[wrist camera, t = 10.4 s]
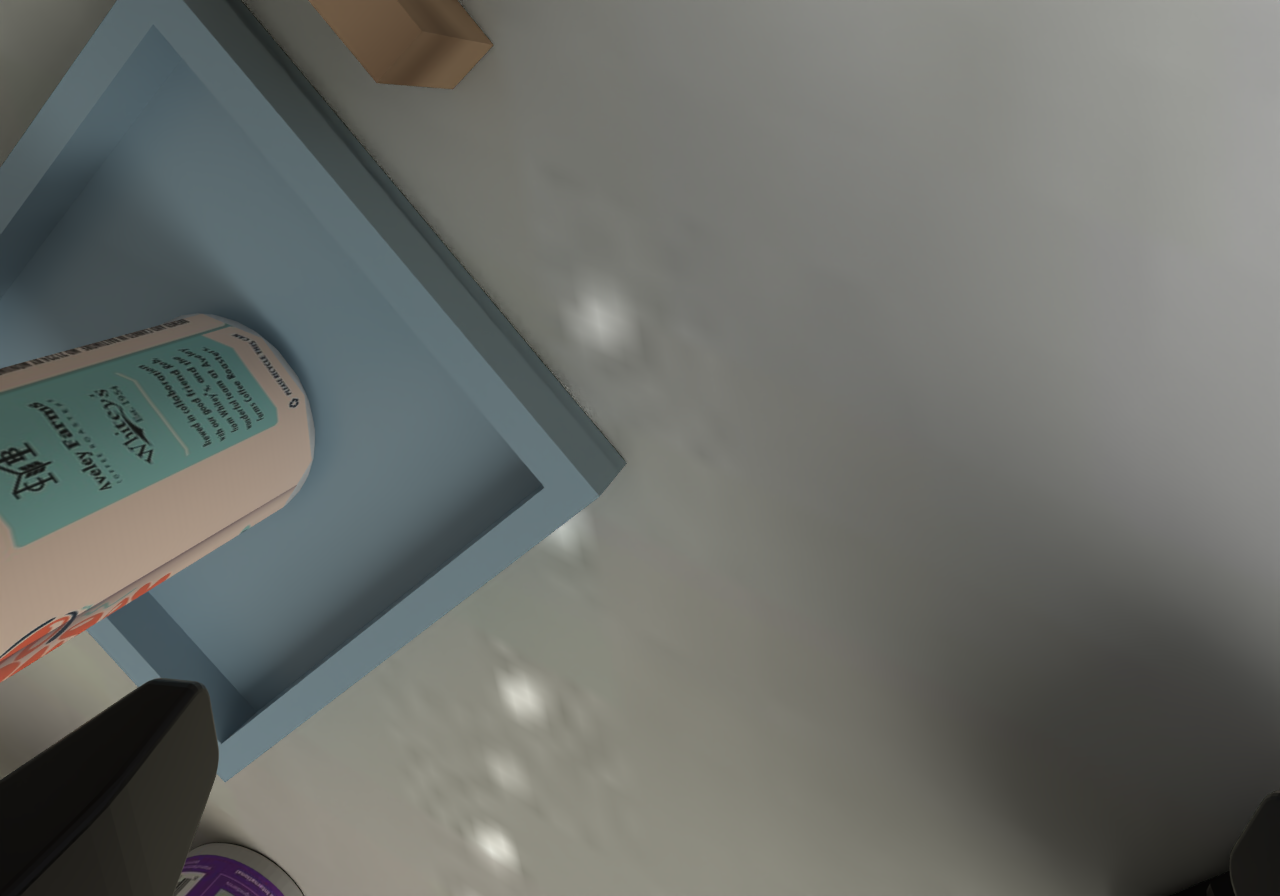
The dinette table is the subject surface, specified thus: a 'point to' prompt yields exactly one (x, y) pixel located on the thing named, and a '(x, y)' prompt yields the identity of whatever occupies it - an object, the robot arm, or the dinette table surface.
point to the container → (232, 873)
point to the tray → (286, 357)
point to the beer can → (136, 468)
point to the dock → (408, 39)
